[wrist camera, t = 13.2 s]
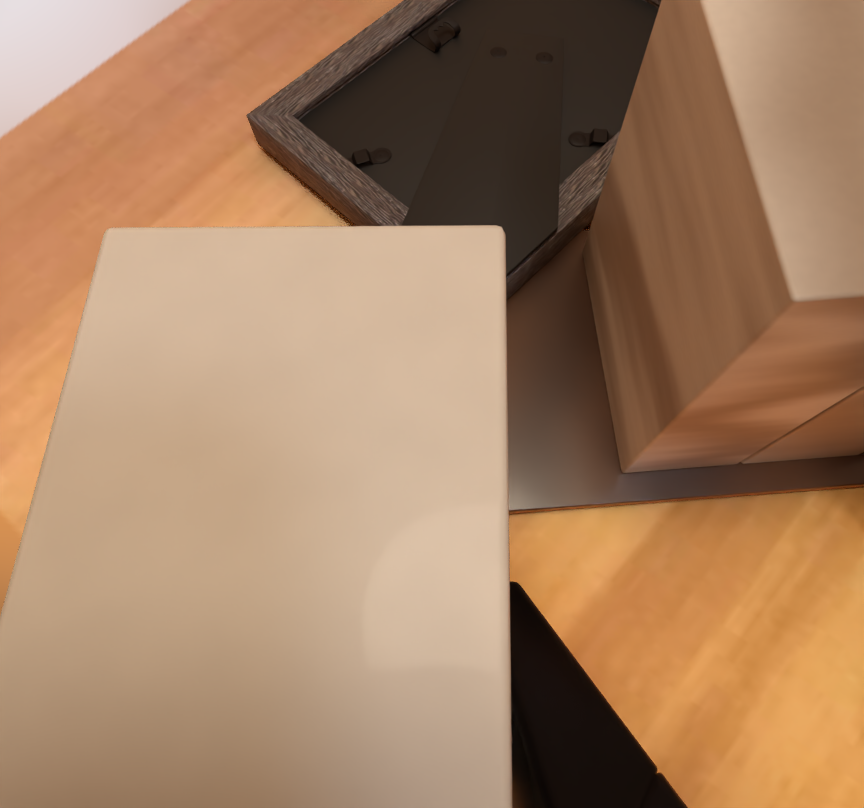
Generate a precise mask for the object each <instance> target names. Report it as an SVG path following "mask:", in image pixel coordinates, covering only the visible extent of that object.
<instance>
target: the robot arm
mask: <svg viewBox="0 0 864 808" xmlns="http://www.w3.org/2000/svg"><path fill="white" fill-rule="evenodd" d="M510 651H511V735H512V808H688V807H687V806H686V805H685V804H684V802H683V801H682V800H681V798H680V797H679V796H678V794H677V793H676V792H675V790H674V789H673V788H672V786H671V785H670V784H669V782H668V781H667V780H666V778H665V777H664V776H663V774H661V773H657V767H656V765H655V764H654V763H653V761H652V760H651V759H650V757H649V756H648V755H647V753H646V752H645V751H644V749H643V748H642V747H641V745H640V744H639V743H638V741H637V740H636V739H635V737H634V736H633V735H632V734H631V732H630V731H629V730H628V728H627V727H626V726H625V724H624V723H623V722H622V720H621V719H620V718H619V716H618V715H617V714H616V712H615V711H614V710H613V708H612V707H611V706H610V704H609V703H608V702H607V700H606V699H605V698H604V696H603V695H602V694H601V692H600V691H599V690H598V688H597V687H596V686H595V684H594V683H593V682H592V680H591V679H590V678H589V676H588V675H587V674H586V672H585V671H584V670H583V668H582V667H581V666H580V664H579V663H578V662H577V660H576V659H575V658H574V656H573V655H572V654H571V652H570V651H569V650H568V648H567V647H566V646H565V644H564V643H563V642H562V640H561V639H560V638H559V636H558V635H557V634H556V632H555V631H554V630H553V628H552V627H551V626H550V624H549V623H548V622H547V620H546V619H545V618H544V616H543V615H542V614H541V612H540V611H539V610H538V608H537V607H536V606H535V604H534V603H533V602H532V600H531V599H530V598H529V596H528V595H527V594H526V592H525V591H524V590H523V588H522V587H521V586H520V585H519V584H518V583H517V582H510Z"/></svg>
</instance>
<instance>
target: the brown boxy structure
mask: <svg viewBox="0 0 864 808" xmlns="http://www.w3.org/2000/svg"><path fill="white" fill-rule="evenodd" d="M506 318H507V401H508V484H509V514H514V513H527V512H540V511H553V510H566V509H579V508H592V507H605V506H618V505H631V504H644V503H657V502H670V501H683V500H696V499H709V498H722V497H735V496H748V495H761V494H774V493H787V492H800V491H813V490H826V489H839V488H852V487H864V0H661V4H660V7H659V10H658V13H657V16H656V19H655V23H654V26H653V29H652V32H651V35H650V39H649V42H648V45H647V48H646V51H645V54H644V58H643V61H642V64H641V67H640V70H639V74H638V77H637V80H636V83H635V86H634V90H633V93H632V96H631V99H630V102H629V105H628V109H627V112H626V115H625V118H624V121H623V125H622V128H621V131H620V134H619V137H618V141H617V144H616V147H615V150H614V153H613V156H612V160H611V163H610V166H609V169H608V172H607V176H606V179H605V182H604V185H603V188H602V191H601V195H600V198H599V201H598V204H597V207H596V211H595V214H594V217H593V220H592V223H591V227H590V230H583V231H581V232H580V233H579V234H578V235H576V236H575V237H574V238H573V239H572V240H571V241H570V242H569V243H568V244H567V245H566V246H565V247H564V248H562V249H561V250H560V251H559V252H558V253H557V254H556V255H555V256H554V257H553V258H552V259H551V260H550V261H549V262H547V263H546V264H545V265H544V266H543V267H542V268H541V269H540V270H539V271H538V272H537V273H536V274H535V275H533V276H532V277H531V278H530V279H529V280H528V281H527V282H526V283H525V284H524V285H523V286H522V287H521V288H520V289H518V290H517V291H516V292H515V293H514V294H513V295H512V296H511V297H510V298H509V299H508V300H507V301H506Z"/></svg>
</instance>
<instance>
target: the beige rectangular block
mask: <svg viewBox="0 0 864 808" xmlns="http://www.w3.org/2000/svg"><path fill="white" fill-rule="evenodd" d="M0 808H512V735H511V651H510V568H509V484H508V401H507V318H506V235H505V233H504V231H503V229H502V227H500V226H497V225H473V226H302V227H131V228H110V229H107V230H106V232H105V233H104V236H103V240H102V244H101V247H100V251H99V255H98V258H97V262H96V266H95V269H94V273H93V277H92V280H91V284H90V288H89V291H88V295H87V299H86V303H85V306H84V310H83V314H82V317H81V321H80V325H79V328H78V332H77V336H76V339H75V343H74V347H73V350H72V354H71V358H70V361H69V365H68V369H67V373H66V376H65V380H64V384H63V387H62V391H61V395H60V398H59V402H58V406H57V409H56V413H55V417H54V420H53V424H52V428H51V432H50V435H49V439H48V443H47V446H46V450H45V454H44V457H43V461H42V465H41V468H40V472H39V476H38V479H37V483H36V487H35V490H34V494H33V498H32V502H31V505H30V509H29V513H28V516H27V520H26V524H25V527H24V531H23V535H22V538H21V542H20V546H19V549H18V553H17V557H16V561H15V564H14V568H13V572H12V575H11V579H10V583H9V586H8V590H7V594H6V597H5V601H4V605H3V609H2V612H1V616H0Z"/></svg>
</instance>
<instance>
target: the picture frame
mask: <svg viewBox="0 0 864 808" xmlns="http://www.w3.org/2000/svg"><path fill="white" fill-rule="evenodd" d="M660 4H661V0H404V1H402V2H401V3H400V4H398V5H397V6H396V7H394V8H393V9H391V10H390V11H389V12H387V13H386V14H385V15H383V16H382V17H380V18H379V19H378V20H376V21H375V22H374V23H372V24H371V25H369V26H368V27H367V28H365V29H364V30H363V31H361V32H360V33H358V34H357V35H356V36H354V37H353V38H352V39H350V40H349V41H348V42H346V43H345V44H343V45H342V46H341V47H339V48H338V49H337V50H335V51H334V52H332V53H331V54H330V55H328V56H327V57H326V58H324V59H323V60H321V61H320V62H319V63H317V64H316V65H315V66H313V67H312V68H310V69H309V70H308V71H306V72H305V73H304V74H302V75H301V76H300V77H298V78H297V79H295V80H294V81H293V82H291V83H290V84H289V85H287V86H286V87H284V88H283V89H282V90H280V91H279V92H278V93H276V94H275V95H273V96H272V97H271V98H269V99H268V100H267V101H265V102H264V103H262V104H261V105H260V106H258V107H257V108H256V109H254V110H253V111H252V112H250V113H249V114H247V118H248V120H249V123H250V125H251V128H252V130H253V133H254V135H255V138H256V140H257V142H258V144H259V145H260V146H262V147H263V148H264V149H265V150H266V151H268V152H269V153H270V154H271V155H272V156H274V157H275V158H276V159H277V160H278V161H280V162H281V163H282V164H283V165H284V166H286V167H287V168H288V169H289V170H290V171H291V172H293V173H294V174H295V175H296V176H297V177H299V178H300V179H301V180H302V181H303V182H305V183H306V184H307V185H308V186H309V187H311V188H312V189H313V190H314V191H315V192H317V193H318V194H319V195H320V196H321V197H323V198H324V199H325V200H326V201H327V202H329V203H330V204H331V205H332V206H333V207H335V208H336V209H337V210H338V211H339V212H341V213H342V214H343V215H344V216H345V217H347V218H348V219H349V220H350V221H351V222H353V223H354V224H355V225H356V226H473V225H497V226H500V227H502V229H503V231H504V233H505V235H506V301H507V300H508V299H509V298H510V297H511V296H512V295H513V294H514V293H515V292H516V291H517V290H518V289H520V288H521V287H522V286H523V285H524V284H525V283H526V282H527V281H528V280H529V279H530V278H531V277H532V276H533V275H535V274H536V273H537V272H538V271H539V270H540V269H541V268H542V267H543V266H544V265H545V264H546V263H547V262H549V261H550V260H551V259H552V258H553V257H554V256H555V255H556V254H557V253H558V252H559V251H560V250H561V249H562V248H564V247H565V246H566V245H567V244H568V243H569V242H570V241H571V240H572V239H573V238H574V237H575V236H576V235H578V234H579V233H580V232H581V231H582V230H583V229H584V228H585V227H586V226H587V225H588V224H589V223H590V222H591V221H592V220H593V217H594V214H595V211H596V207H597V204H598V201H599V198H600V195H601V191H602V188H603V185H604V182H605V179H606V176H607V172H608V169H609V166H610V163H611V160H612V156H613V153H614V150H615V147H616V144H617V141H618V137H619V134H620V131H621V128H622V125H623V121H624V118H625V115H626V112H627V109H628V105H629V102H630V99H631V96H632V93H633V90H634V86H635V83H636V80H637V77H638V74H639V70H640V67H641V64H642V61H643V58H644V54H645V51H646V48H647V45H648V42H649V39H650V35H651V32H652V29H653V26H654V23H655V19H656V16H657V13H658V10H659V7H660Z"/></svg>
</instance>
